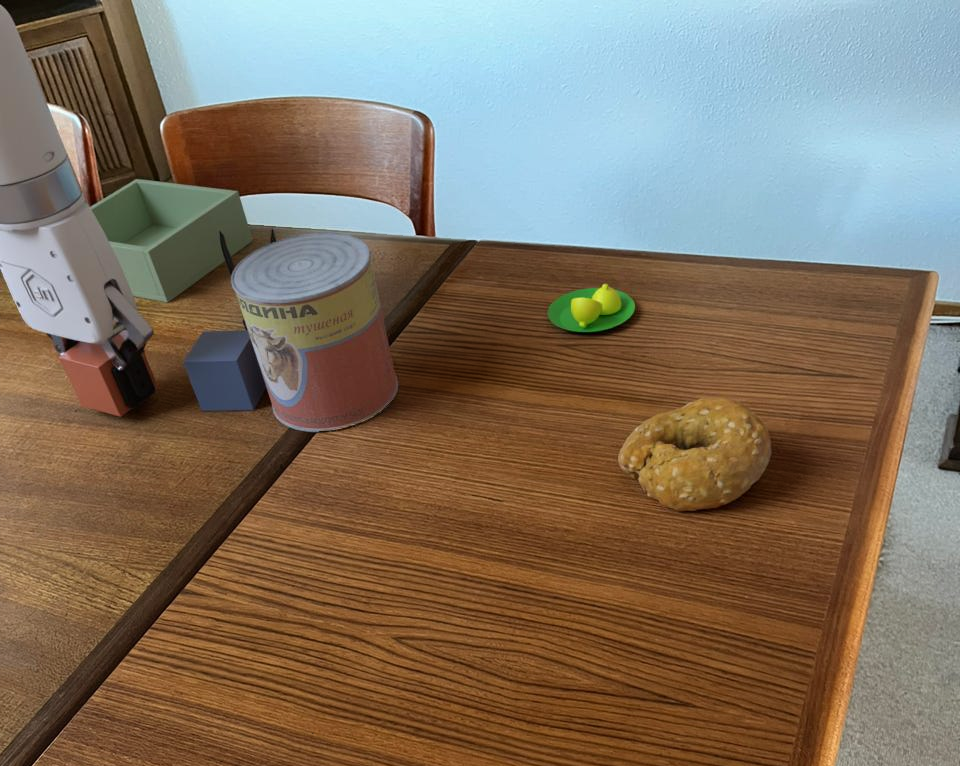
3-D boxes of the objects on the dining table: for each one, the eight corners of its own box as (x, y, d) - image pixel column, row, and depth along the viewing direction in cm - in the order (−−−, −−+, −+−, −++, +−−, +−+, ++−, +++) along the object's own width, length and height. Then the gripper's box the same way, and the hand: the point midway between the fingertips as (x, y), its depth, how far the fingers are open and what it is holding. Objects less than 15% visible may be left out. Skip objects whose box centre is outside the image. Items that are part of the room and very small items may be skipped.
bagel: (649, 422, 77) (650, 369, 73) (786, 452, 72) (794, 397, 69) (595, 496, 71) (592, 443, 68) (739, 533, 67) (745, 478, 63)
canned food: (246, 411, 85) (201, 282, 77) (332, 349, 91) (299, 223, 82) (338, 446, 80) (301, 312, 71) (424, 378, 86) (399, 246, 77)
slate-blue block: (201, 411, 86) (182, 361, 83) (220, 380, 90) (202, 331, 86) (253, 410, 85) (236, 360, 82) (271, 379, 89) (255, 329, 85)
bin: (66, 283, 108) (43, 234, 104) (153, 226, 116) (136, 178, 112) (167, 302, 102) (148, 251, 98) (253, 240, 110) (238, 190, 106)
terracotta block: (81, 406, 88) (57, 357, 84) (119, 377, 90) (98, 328, 87) (120, 417, 86) (98, 367, 82) (158, 387, 88) (138, 337, 85)
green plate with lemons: (621, 341, 86) (620, 312, 84) (536, 334, 88) (533, 305, 86) (645, 297, 90) (645, 268, 88) (563, 291, 93) (561, 263, 91)
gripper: (-81, 199, 76) (24, 398, 89) (70, 225, 69) (160, 437, 82) (-7, 161, 80) (83, 356, 93) (142, 182, 73) (216, 390, 86)
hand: (118, 392), depth 88 cm, fingers closed on terracotta block, 5 cm apart
